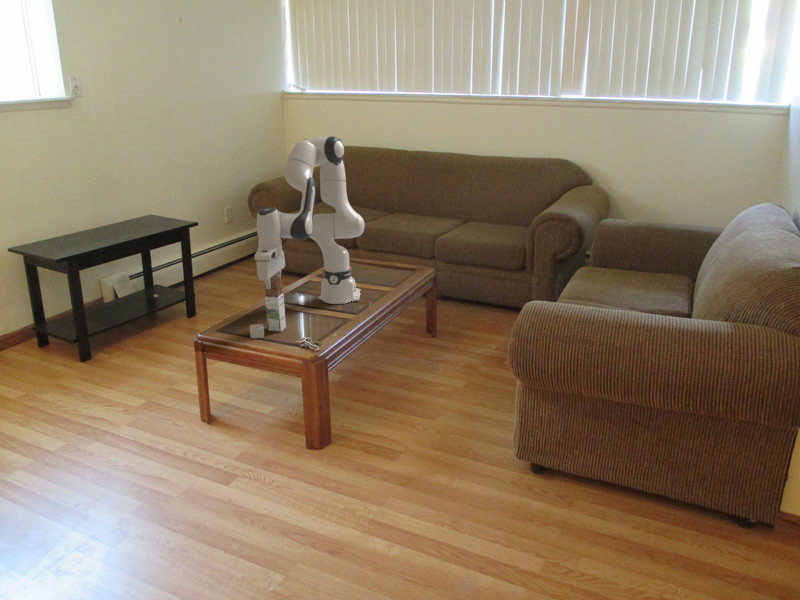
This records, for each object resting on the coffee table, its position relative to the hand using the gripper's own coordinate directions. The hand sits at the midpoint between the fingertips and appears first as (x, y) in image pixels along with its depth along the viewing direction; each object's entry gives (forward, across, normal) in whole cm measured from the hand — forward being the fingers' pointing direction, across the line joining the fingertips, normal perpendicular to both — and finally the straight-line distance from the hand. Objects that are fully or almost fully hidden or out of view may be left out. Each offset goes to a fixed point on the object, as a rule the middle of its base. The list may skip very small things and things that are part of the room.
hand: (273, 284), depth 266 cm
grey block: (+19, +8, -5) cm, 21 cm away
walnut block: (+4, 0, 0) cm, 4 cm away
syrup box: (+19, 0, 0) cm, 19 cm away
